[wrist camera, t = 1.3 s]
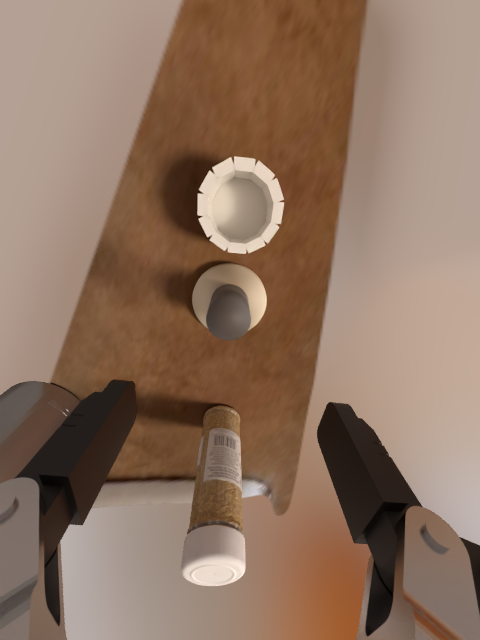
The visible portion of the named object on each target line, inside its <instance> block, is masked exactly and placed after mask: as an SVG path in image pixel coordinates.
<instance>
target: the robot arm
mask: <svg viewBox="0 0 480 640" xmlns="http://www.w3.org/2000/svg"><path fill="white" fill-rule="evenodd" d="M136 412H137V407H136V393H135V383H134V382H133V381H124V380H112V381H111V382H110V383H109V384H108V385H107V387H106V388H105V389H104V390H103V392H94V393H93V394H91V395H90V396H88V397H87V398H85V399H84V400H82V401H81V402H80V401H79V400H78V399H77V398H76V397H75V396H74V395H72V394H71V393H69V392H68V391H66V390H64V389H62V388H60V387H58V386H55V385H52V384H49V383H45V382H37V381H31V382H23V383H19V384H16V385H14V386H12V387H11V388H10V389H8V390H7V391H6V392H4V393H3V394H2V395H0V640H67V638H66V631H65V622H64V602H63V583H62V565H61V545H60V540H61V539H62V537H63V535H64V533H65V531H66V529H67V528H68V526H69V524H73V525H74V524H75V525H83V523H84V521H85V519H86V517H87V515H88V513H89V511H90V509H91V508H92V506H93V504H94V502H95V500H96V498H97V496H98V494H99V492H100V490H101V488H102V486H103V484H104V482H105V480H106V478H107V476H108V474H109V472H110V470H111V468H112V466H113V464H114V462H115V460H116V458H117V456H118V454H119V452H120V450H121V448H122V446H123V444H124V442H125V440H126V438H127V436H128V434H129V432H130V430H131V428H132V426H133V424H134V421H135V418H136ZM317 438H318V443H319V446H320V448H321V451H322V454H323V457H324V460H325V463H326V465H327V468H328V471H329V474H330V477H331V479H332V482H333V485H334V488H335V490H336V494H337V496H338V499H339V502H340V505H341V508H342V510H343V513H344V516H345V519H346V522H347V524H348V527H349V530H350V533H351V536H352V538H353V541H354V543H359V544H368V546H369V548H370V551H371V555H370V557H369V561H368V568H367V576H366V583H365V589H364V596H363V603H362V610H361V617H360V623H359V630H358V636H357V639H356V640H480V546H479V545H477V544H475V543H472V542H470V541H468V540H465V539H463V538H460V537H459V536H458V535H457V534H456V532H455V531H454V530H453V529H452V528H451V527H450V525H449V524H447V523H446V522H445V521H444V520H443V519H442V518H441V517H439V516H438V515H436V514H435V513H434V512H432V511H430V510H428V509H426V508H423V507H422V505H421V504H420V502H419V501H418V499H417V498H416V496H415V495H414V493H413V492H412V490H411V488H410V487H409V485H408V484H407V482H406V481H405V479H404V477H403V476H402V474H401V473H400V471H399V470H398V468H397V466H396V465H395V463H394V462H393V460H392V458H391V457H389V454H388V452H387V451H386V449H385V447H384V446H382V443H381V441H380V440H379V438H378V436H377V435H376V433H375V432H374V430H373V429H372V428H371V427H370V426H369V425H368V424H367V423H366V422H365V421H364V420H363V419H360V418H358V417H357V416H356V414H355V412H354V411H353V409H352V407H351V406H350V405H348V404H343V403H333V402H329V403H328V404H327V406H326V409H325V411H324V414H323V416H322V419H321V421H320V424H319V426H318V430H317Z"/></svg>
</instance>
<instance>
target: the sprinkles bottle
mask: <svg viewBox="0 0 480 640" xmlns="http://www.w3.org/2000/svg"><path fill="white" fill-rule="evenodd" d="M239 424H240V416H239V414H238V413H237V411H236V410H235V409H233V408H231V407H228V406H215V407H213V408H210V409H209V410H208V411H207V412H206V413H205V415H204V418H203V431H202V438H201V441H200V447H199V454H198V462H197V474H196V481H195V488H194V495H193V502H192V511H191V517H190V526H189V529H188V533H187V536H186V538H185V541H184V548H183V556H182V565H181V572H182V575H183V576H184V577H185V579H186V580H188V581H190V582H192V583H195V584H198V585H204V586H220V585H225V584H229V583H232V582H234V581H236V580H238V579H239V578H241V577H242V575H243V574H244V572H245V539H244V536H243V530H242V501H241V496H242V479H241V447H240V436H239Z"/></svg>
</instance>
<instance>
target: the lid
mask: <svg viewBox="0 0 480 640" xmlns="http://www.w3.org/2000/svg"><path fill="white" fill-rule="evenodd" d="M266 302H267V300H266V292H265V289H264V286H263V284H262V282H261V280H260V279H259V277H258V276H257V275H256V274H255V273H254V272H253V271H252V270H250V269H249V268H247V267H245V266H243V265H240V264H235V263H223V264H218V265H216V266H213V267H211V268H210V269H208V270H207V271H205V272H204V273H203V274H202V275H201V277H200V278H199V280H198V281H197V283H196V285H195V287H194V290H193V295H192V304H193V309H194V312H195V314H196V316H197V318H198V319H199V321H200V322H201V323H202V324H203V325H204V326H205V327H207V328H208V329H209V331H210V332H211V333H212V334H213V335H214V336H216V337H217V338H220V339H223V340H235V339H238V338H240V337H242V336H243V335H244V334H245V333H246V332H247V331H248V330H250V329H251V328H253V327H254V326H255V325H256V324H257V323H258V322H259V321H260V319H261V318H262V316H263V314H264V312H265V308H266Z"/></svg>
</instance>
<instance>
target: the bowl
mask: <svg viewBox="0 0 480 640" xmlns="http://www.w3.org/2000/svg"><path fill="white" fill-rule="evenodd" d="M212 169H213V171H214V173H215V174H214V173H212V172H211V171H210V170H209V172H208V174H207V176H206V177H205V179H204V181H203V183H202V185H201V186H200V188H199V190H200V191H201V192H202V193H204V194H199V193H198V211H197V215H199V216H203V217H201V218H199V222H200V224H201V226H202V228H203V230H204V232H205V234H206V236H207V237H209V236H211V235H212V237H211V238H210V241H211V242H213V243H214V244H216V245H217V246H218V247H220V248H221V249H223V250H224V251H225V250H226V249H227V247H228V252H231V253H241V254H246V248H247V250H248V253H251V252H253V251H255V250H257V249H259V248H261V247H263V246H265V243H264V241H265V242H267V243H269V241H270V240H271V238H272V237H273V236H274V234H275V233H276V232H277V230H278V229H279V226H277V225H276V224H281V220H282V214H283V207H284V203H281V202H279V201H281V200H283V199H284V198H283V195H282V192H281V189H280V186H279V183H278V180H277V178H276V179H274V180H272V179H273V177H274V176H275V175H274V174H273V173H272V172H271V171H270V170H269V169H268V168H267V167H265V166H264V165H263V164H262V163H261V162H260V161H258V162H257V164H256V166H255V159H251V158H243V157H235V156H234V164H233V161H232V159H231V157H230V158H228V159H227V160H225V161H223V162H221V163H219V164H218V165H216V166H214V167H212ZM271 180H272V181H271ZM275 223H276V224H275ZM263 240H264V241H263Z"/></svg>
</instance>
